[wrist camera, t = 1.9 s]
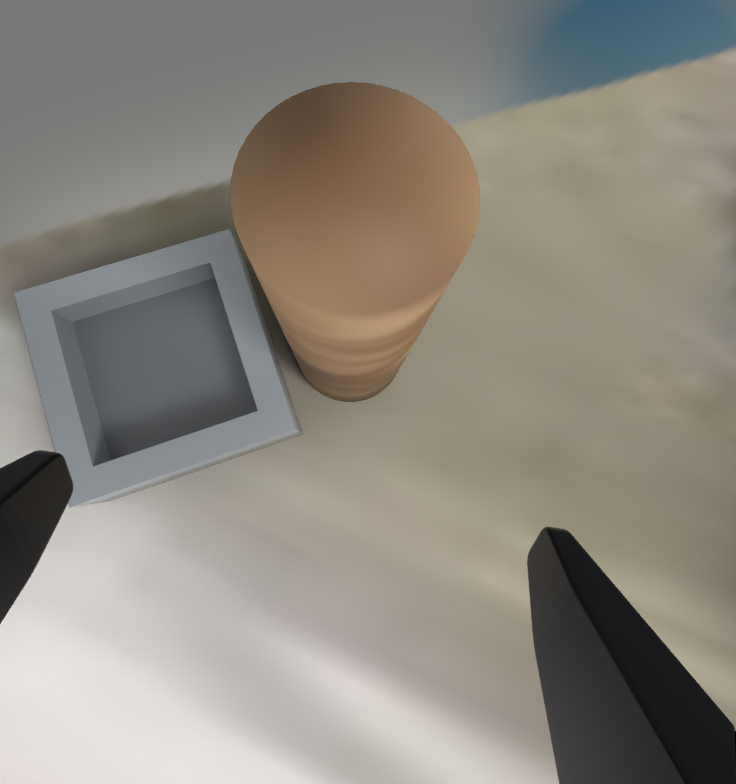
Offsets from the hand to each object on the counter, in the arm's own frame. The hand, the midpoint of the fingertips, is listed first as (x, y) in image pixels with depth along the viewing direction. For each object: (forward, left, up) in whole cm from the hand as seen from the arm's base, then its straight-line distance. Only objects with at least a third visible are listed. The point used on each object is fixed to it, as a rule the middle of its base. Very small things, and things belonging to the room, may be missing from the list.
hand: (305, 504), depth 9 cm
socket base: (-2, +8, -13) cm, 15 cm away
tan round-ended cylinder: (+5, +4, -13) cm, 14 cm away
